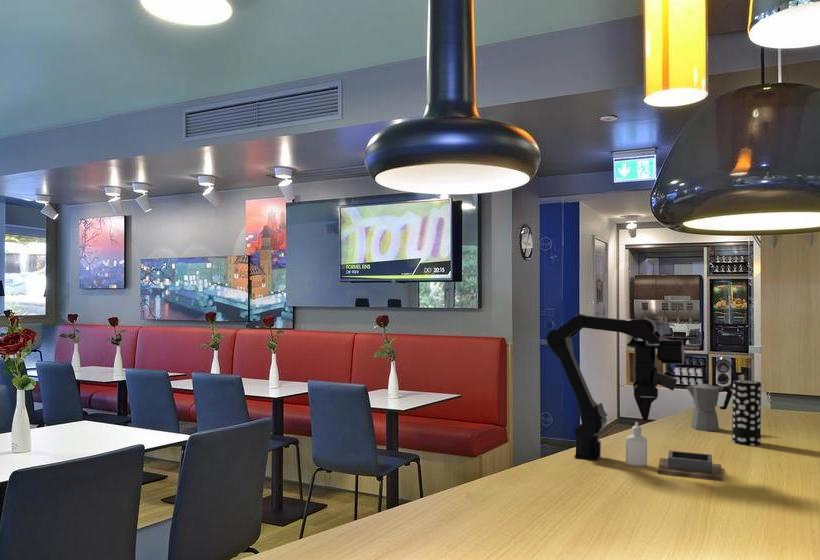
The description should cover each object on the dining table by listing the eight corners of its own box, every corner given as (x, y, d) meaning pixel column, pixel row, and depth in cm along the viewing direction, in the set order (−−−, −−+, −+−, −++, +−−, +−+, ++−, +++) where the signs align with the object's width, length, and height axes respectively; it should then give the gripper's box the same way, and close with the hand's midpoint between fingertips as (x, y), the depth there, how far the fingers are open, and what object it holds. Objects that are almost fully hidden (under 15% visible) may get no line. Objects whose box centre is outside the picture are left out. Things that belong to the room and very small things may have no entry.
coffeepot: (685, 429, 241) (686, 379, 241) (684, 424, 250) (685, 376, 250) (733, 433, 236) (733, 381, 236) (730, 428, 245) (731, 378, 245)
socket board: (657, 473, 182) (657, 469, 182) (660, 461, 195) (660, 458, 195) (722, 480, 176) (723, 476, 176) (720, 467, 189) (720, 464, 189)
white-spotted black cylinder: (765, 446, 217) (766, 383, 217) (739, 445, 217) (740, 383, 217) (752, 440, 225) (753, 380, 225) (727, 439, 225) (728, 379, 226)
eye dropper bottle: (642, 468, 187) (642, 424, 187) (623, 464, 191) (623, 421, 191) (649, 465, 190) (649, 422, 190) (630, 461, 194) (631, 419, 194)
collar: (667, 468, 183) (668, 457, 183) (669, 460, 191) (669, 450, 191) (712, 473, 179) (712, 462, 179) (711, 465, 187) (711, 454, 187)
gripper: (677, 367, 180) (677, 425, 180) (673, 360, 198) (673, 413, 198) (633, 365, 184) (633, 423, 183) (633, 359, 201) (633, 411, 201)
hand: (644, 417), depth 191 cm, fingers open, 9 cm apart
